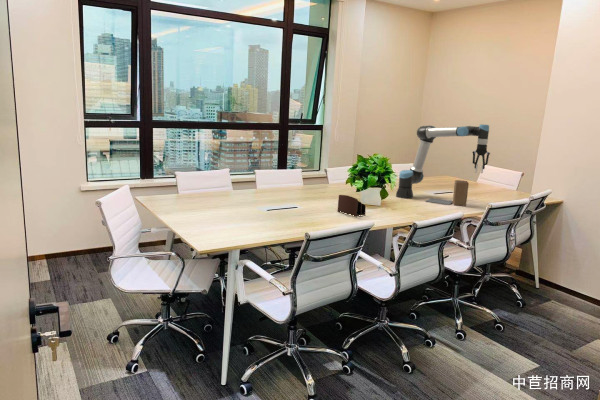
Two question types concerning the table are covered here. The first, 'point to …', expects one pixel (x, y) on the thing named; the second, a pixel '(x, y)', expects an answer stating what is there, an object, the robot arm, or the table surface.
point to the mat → (439, 201)
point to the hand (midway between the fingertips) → (478, 172)
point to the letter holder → (351, 205)
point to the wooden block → (460, 193)
